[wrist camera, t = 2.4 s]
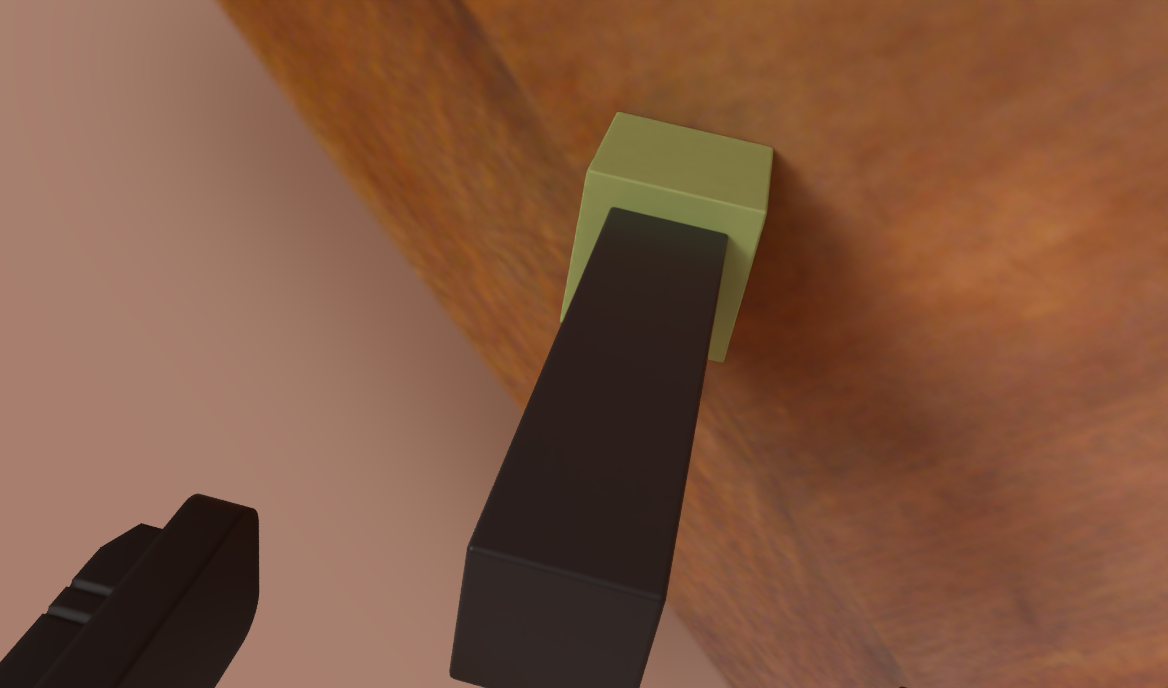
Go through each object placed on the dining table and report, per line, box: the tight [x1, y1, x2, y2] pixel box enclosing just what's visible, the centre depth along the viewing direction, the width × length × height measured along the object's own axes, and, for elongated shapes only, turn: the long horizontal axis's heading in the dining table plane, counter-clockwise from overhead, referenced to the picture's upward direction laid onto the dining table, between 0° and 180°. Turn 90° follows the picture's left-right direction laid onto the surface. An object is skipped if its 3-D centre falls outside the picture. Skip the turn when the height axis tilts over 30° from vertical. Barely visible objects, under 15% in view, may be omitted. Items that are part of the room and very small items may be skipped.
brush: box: [450, 112, 774, 688], centre depth 18 cm, size 4×4×14 cm
